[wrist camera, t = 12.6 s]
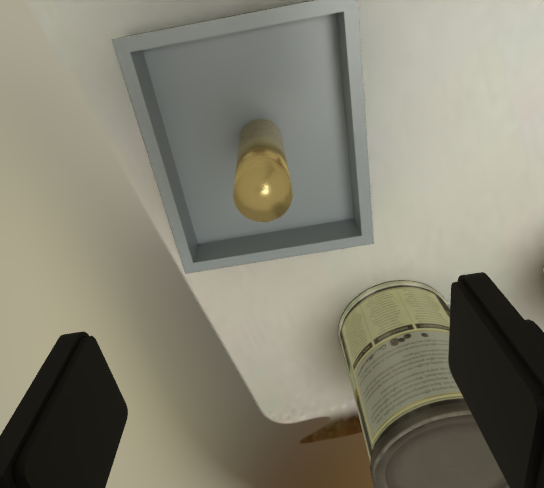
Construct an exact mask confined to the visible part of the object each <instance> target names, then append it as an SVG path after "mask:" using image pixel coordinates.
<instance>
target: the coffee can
mask: <svg viewBox="0 0 544 488" xmlns="http://www.w3.org/2000/svg"><path fill="white" fill-rule="evenodd" d="M449 330H450V309H449V306H448V304H447V302H446V301H445V299H444V298H443V297H442V296H441V295H440V294H439V293H438V292H437V291H436V290H434V289H433V288H431V287H429V286H427V285H425V284H421V283H418V282H413V281H392V282H386V283H383V284H380V285H377V286H375V287H372V288H370V289H368V290H366V291H365V292H363V293H362V294H360V295H359V296H358V297H357V298H355V299H354V300H353V301H352V302H351V303H350V304H349V305H348V307H347V308H346V310H345V312H344V313H343V315H342V317H341V320H340V323H339V329H338V336H339V341H340V344H341V346H342V349H343V353H344V357H345V361H346V365H347V369H348V373H349V377H350V381H351V385H352V389H353V394H354V398H355V402H356V406H357V410H358V414H359V418H360V422H361V426H362V431H363V434H364V439H365V442H366V447H367V451H368V455H369V459H370V463H371V465H370V470H371V476H372V481H373V485H374V487H375V488H510V487H509V485H508V483H507V482H506V480H505V478H504V476H503V474H502V472H501V470H500V468H499V466H498V464H497V462H496V460H495V458H494V456H493V454H492V452H491V450H490V448H489V447H488V445H487V443H486V441H485V439H484V437H483V435H482V433H481V431H480V429H479V427H478V425H477V423H476V421H475V419H474V417H473V415H472V413H471V412H470V410H469V408H468V406H467V404H466V402H465V400H464V398H463V396H462V394H461V392H460V390H459V388H458V386H457V384H456V382H455V380H454V378H453V377H452V374H451V372H450V368H449V363H448V355H449Z"/></svg>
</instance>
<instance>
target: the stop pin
mask: <svg viewBox="0 0 544 488" xmlns="http://www.w3.org/2000/svg"><path fill="white" fill-rule="evenodd" d="M292 197H293V192H292V186H291V181H290V176H289V170H288V165H287V160H286V155H285V150H284V145H283V139H282V135H281V132H280V130H279V128H278V127H277V126H276V125H275V124H274V123H273V122H271V121H269V120H266V119H256V120H253V121H251V122H249V123H248V124H246V125H245V127H244V128H243V129H242V131H241V134H240V140H239V148H238V156H237V165H236V173H235V182H234V190H233V199H234V203H235V205H236V207H237V209H238V211H239V212H240V213H241V214H242V215H243V216H245V217H246V218H248V219H250V220H252V221H256V222H269V221H273V220H276V219H278V218H279V217H281V216H282V215H283V214H285V212H286V211H287V210H288V209H289V207H290V205H291V202H292Z"/></svg>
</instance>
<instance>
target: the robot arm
mask: <svg viewBox="0 0 544 488" xmlns="http://www.w3.org/2000/svg"><path fill="white" fill-rule="evenodd" d="M448 363H449V368H450V372H451V374H452V377H453V378H454V380H455V382H456V384H457V386H458V388H459V390H460V392H461V394H462V396H463V398H464V400H465V402H466V404H467V406H468V408H469V410H470V412H471V413H472V415H473V417H474V419H475V421H476V423H477V425H478V427H479V429H480V431H481V433H482V435H483V437H484V439H485V441H486V443H487V445H488V447H489V448H490V450H491V452H492V454H493V456H494V458H495V460H496V462H497V464H498V466H499V468H500V470H501V472H502V474H503V476H504V478H505V480H506V482H507V483H508V485H509V487H510V488H544V332H543V331H542V330H541V329H540V328H539V326H538V325H537V324H535V323H534V322H533V321H531V320H529V319H528V320H524V319H523V318H522V316H521V315H520V314H519V313H518V312H517V310H516V309H515V308H514V307H513V306H512V304H511V303H510V302H509V301H508V300H507V298H506V297H505V296H504V295H503V294H502V292H501V291H500V290H499V289H498V288H497V286H496V285H495V284H494V283H493V282H492V280H491V279H490V278H489V277H488V276H487V275H486V274H485V273H483V272H481V273H475V274H468V275H461V276H459V278H458V282H453V283H452V285H451V305H450V330H449V355H448ZM127 415H128V410H127V406H126V403H125V401H124V399H123V396H122V394H121V392H120V390H119V388H118V386H117V384H116V381H115V379H114V377H113V375H112V373H111V371H110V369H109V367H108V365H107V362H106V360H105V358H104V356H103V354H102V352H101V350H100V347H99V345H98V343H97V341H96V339H95V338H94V337H93V336H89V335H88V334H87V333H86V332H77V333H71V334H64V335H61V336H60V337H59V339H58V340H57V342H56V344H55V345H54V347H53V349H52V351H51V352H50V354H49V355H48V357H47V359H46V360H45V362H44V364H43V365H42V367H41V369H40V370H39V372H38V374H37V375H36V377H35V379H34V381H33V382H32V384H31V385H30V387H29V389H28V390H27V392H26V394H25V396H24V397H23V399H22V400H21V402H20V404H19V405H18V407H17V409H16V411H15V412H14V414H13V415H12V417H11V419H10V421H9V422H8V424H7V426H6V427H5V429H4V430H3V432H2V434H1V436H0V488H105V486H106V483H107V480H108V477H109V474H110V471H111V468H112V465H113V461H114V458H115V455H116V452H117V449H118V446H119V443H120V439H121V436H122V433H123V430H124V427H125V424H126V421H127Z"/></svg>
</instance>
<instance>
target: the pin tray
mask: <svg viewBox="0 0 544 488" xmlns="http://www.w3.org/2000/svg"><path fill="white" fill-rule="evenodd" d="M112 42H113V45H114V48H115V51H116V54H117V58H118V61H119V64H120V67H121V70H122V74H123V77H124V80H125V83H126V86H127V90H128V93H129V96H130V99H131V102H132V106H133V109H134V112H135V115H136V118H137V121H138V125H139V128H140V131H141V134H142V137H143V141H144V144H145V147H146V150H147V153H148V157H149V160H150V163H151V166H152V169H153V172H154V176H155V179H156V182H157V185H158V188H159V192H160V195H161V198H162V201H163V204H164V208H165V211H166V214H167V217H168V220H169V224H170V227H171V230H172V233H173V236H174V239H175V243H176V246H177V249H178V252H179V255H180V259H181V262H182V265H183V268H184V271H185V274H187V273H193V272H200V271H206V270H212V269H218V268H225V267H231V266H237V265H243V264H250V263H256V262H262V261H268V260H275V259H281V258H287V257H293V256H300V255H306V254H312V253H318V252H325V251H331V250H337V249H344V248H350V247H356V246H362V245H369V244H374V239H373V224H372V209H371V194H370V179H369V164H368V149H367V134H366V119H365V104H364V89H363V74H362V59H361V44H360V29H359V14H358V0H312V1H307V2H302V3H296V4H291V5H286V6H281V7H276V8H270V9H265V10H260V11H255V12H250V13H245V14H239V15H234V16H229V17H224V18H219V19H213V20H208V21H203V22H198V23H193V24H188V25H182V26H177V27H172V28H167V29H162V30H156V31H151V32H146V33H141V34H136V35H131V36H126V37H121V38H117V39H113V40H112ZM256 119H266V120H269V121H271V122H273V123H274V124H275V125H276V126H277V127H278V128H279V130H280V132H281V135H282V139H283V145H284V150H285V155H286V160H287V165H288V170H289V176H290V181H291V186H292V192H293V197H292V202H291V205H290V207H289V209H288V210H287V211H286V212H285V214H283V215H282V216H281V217H279V218H278V219H276V220H273V221H269V222H256V221H252V220H250V219H248V218H246V217H245V216H243V215H242V214H241V213H240V212H239V211H238V209H237V207H236V205H235V203H234V199H233V190H234V182H235V173H236V165H237V156H238V148H239V140H240V134H241V131H242V129H243V128H244V127H245V125H246V124H248V123H249V122H251V121H253V120H256Z"/></svg>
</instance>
